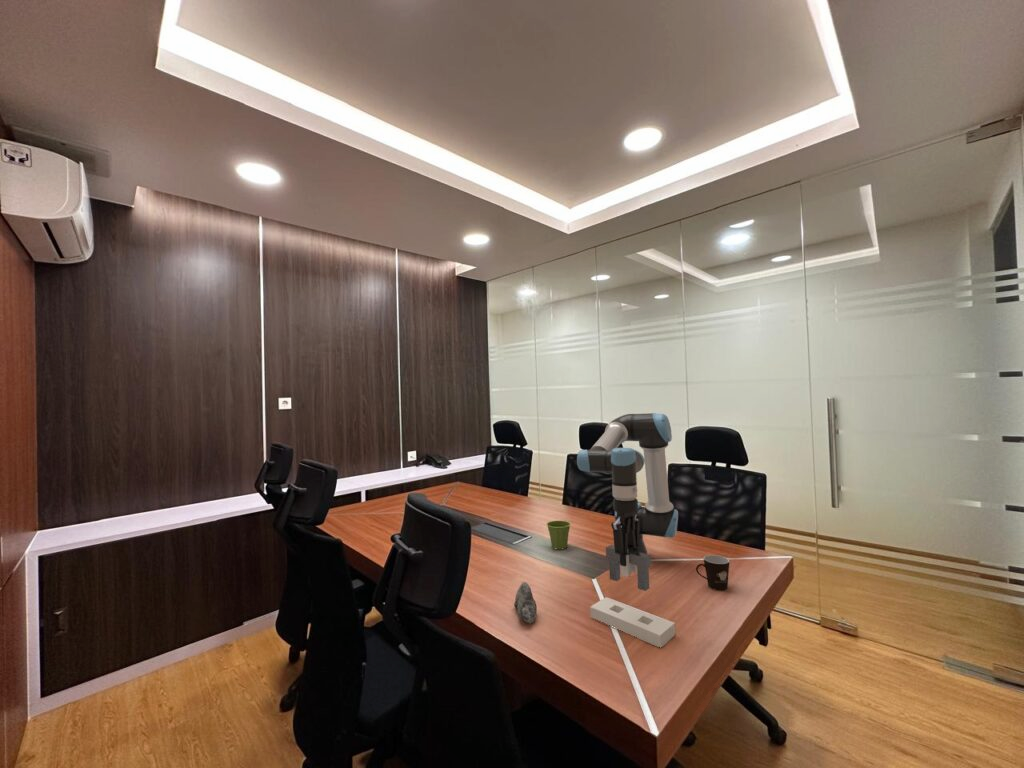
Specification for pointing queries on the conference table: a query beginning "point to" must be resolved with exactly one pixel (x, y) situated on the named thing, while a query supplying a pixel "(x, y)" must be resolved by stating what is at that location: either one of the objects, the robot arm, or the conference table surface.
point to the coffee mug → (716, 571)
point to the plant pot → (559, 533)
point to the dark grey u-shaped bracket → (634, 558)
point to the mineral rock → (525, 603)
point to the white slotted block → (634, 621)
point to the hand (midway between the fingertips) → (628, 573)
